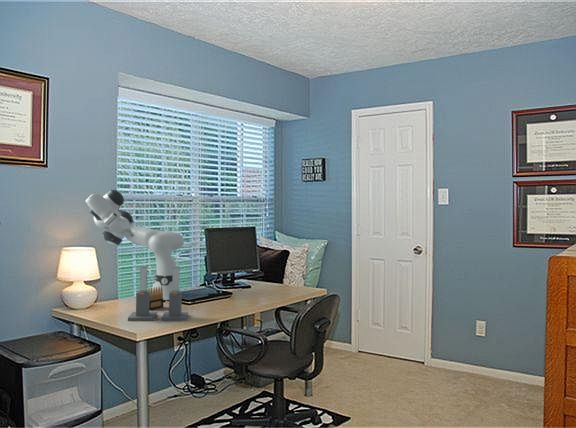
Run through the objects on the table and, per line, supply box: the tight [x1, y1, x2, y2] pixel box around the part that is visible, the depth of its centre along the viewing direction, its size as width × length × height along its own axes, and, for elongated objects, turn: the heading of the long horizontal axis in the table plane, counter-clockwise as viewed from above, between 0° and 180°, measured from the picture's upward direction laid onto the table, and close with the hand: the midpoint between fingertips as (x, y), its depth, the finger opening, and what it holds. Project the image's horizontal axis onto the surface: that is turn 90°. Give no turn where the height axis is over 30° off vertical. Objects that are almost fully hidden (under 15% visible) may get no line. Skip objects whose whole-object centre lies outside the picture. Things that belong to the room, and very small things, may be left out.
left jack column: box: [138, 265, 148, 293], centre depth 251 cm, size 3×3×17 cm
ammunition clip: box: [147, 286, 164, 311], centre depth 272 cm, size 11×2×12 cm, turn 146°
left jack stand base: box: [127, 290, 158, 322], centre depth 252 cm, size 12×12×13 cm
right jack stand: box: [160, 265, 189, 322], centre depth 253 cm, size 12×12×26 cm
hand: (131, 237), depth 262 cm, fingers open, 8 cm apart
